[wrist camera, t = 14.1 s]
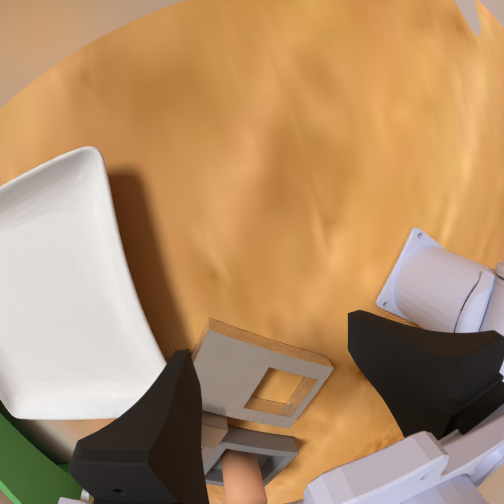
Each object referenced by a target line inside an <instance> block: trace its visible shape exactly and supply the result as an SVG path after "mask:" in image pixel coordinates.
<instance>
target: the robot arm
mask: <svg viewBox="0 0 504 504" xmlns="http://www.w3.org/2000/svg"><path fill="white" fill-rule="evenodd" d="M418 234H420V235H419V237H418ZM385 302H386V303H385ZM384 303H385V305H383V304H384ZM376 305H377V306H378V307H379V308H381V309H384V310H386V311H388V312H390V313H393V314H395V315H397V316H400V317H402V318H404V319H406V320H409V321H411V322H413V323H415V324H418V325H419V326H420V327H422V328H423V329H420V328H416V327H412V326H408V325H405V324H401V323H398V322H395V321H392V320H389V319H386V318H383V317H380V316H377V315H375V314H372V313H369V312H366V311H362V310H357V311H354V312H351V313H348V351H349V352H350V354H351V356H352V358H353V360H354V361H355V363H356V365H357V366H358V368H359V369H360V370H361V371H362V373H363V374H364V375H365V377H366V378H367V379H368V380H369V382H370V383H371V384H372V385H373V387H374V388H375V389H376V390H377V392H378V393H379V394H380V395H381V397H382V398H383V400H384V401H385V403H386V404H387V406H388V408H389V409H390V411H391V413H392V414H393V416H394V418H395V420H396V422H397V424H398V426H399V427H400V429H401V431H402V433H403V436H404V439H402V440H400V441H397V442H395V443H393V444H391V445H389V446H387V447H385V448H382V449H380V450H378V451H376V452H373V453H371V454H369V455H366V456H364V457H361V458H359V459H356V460H353V461H351V462H348V463H345V464H343V465H340V466H337V467H335V468H333V469H331V470H329V471H326V472H324V473H322V474H320V475H319V476H318V477H316V478H315V479H314V480H312V481H311V482H310V483H309V484H308V486H307V487H306V489H305V491H304V493H303V494H304V499H302V500H298V501H294V502H290V503H286V504H489V503H488V502H487V501H486V500H485V498H484V497H483V496H482V495H481V493H480V492H479V491H478V489H477V487H478V486H479V485H480V484H482V483H483V482H484V481H485V480H486V479H487V478H488V477H490V476H491V475H492V474H493V473H494V472H495V471H496V470H497V469H498V468H499V467H500V466H501V465H502V464H503V463H504V260H502V261H501V262H498V263H497V264H496V268H495V270H494V269H492V268H489V267H487V266H485V265H482V264H480V263H477V262H475V261H472V260H470V259H467V258H465V257H462V256H460V255H457V254H455V253H452V252H449V251H447V250H446V249H445V248H444V247H442V246H441V245H440V244H439V243H437V242H436V241H435V240H433V239H432V238H431V237H430V236H428V235H427V234H426V233H424V232H423V231H422V230H420V229H419V228H417V227H414V228H412V230H411V232H410V234H409V236H408V239H407V241H406V243H405V245H404V247H403V249H402V251H401V253H400V256H399V258H398V260H397V262H396V264H395V266H394V268H393V270H392V272H391V273H390V275H389V277H388V279H387V281H386V283H385V285H384V287H383V289H382V291H381V292H380V294H379V296H378V298H377V300H376ZM201 433H202V394H201V385H200V382H199V379H198V376H197V373H196V370H195V367H194V364H193V361H192V358H191V355H190V351H189V349H186V350H180V351H175V352H174V354H173V355H172V357H171V358H170V360H169V361H168V363H167V364H166V366H165V367H164V369H163V370H162V372H161V373H160V375H159V376H158V377H157V379H156V380H155V382H154V383H153V384H152V385H151V387H150V388H149V389H148V390H147V392H146V393H145V394H144V395H143V396H142V397H141V398H140V399H139V400H138V401H137V402H136V403H135V404H134V405H133V406H132V407H131V408H130V409H128V410H127V411H126V412H125V413H123V414H122V415H121V416H120V417H118V418H117V419H116V420H114V421H113V422H111V423H110V424H108V425H107V426H105V427H104V428H102V429H100V430H99V431H97V432H95V433H93V434H91V435H89V436H87V437H85V438H83V439H80V440H78V442H77V444H76V447H75V450H74V453H73V456H72V459H71V462H70V465H69V471H70V474H71V476H72V477H73V478H74V479H75V481H76V482H77V483H78V484H79V485H80V486H81V487H82V488H83V489H85V490H86V491H87V492H88V493H89V494H90V495H91V496H92V497H93V498H94V501H93V504H209V499H208V493H207V488H206V481H205V475H204V467H203V459H202V449H201ZM58 504H89V503H87V502H84V501H79V500H74V499H69V498H64V497H60V499H59V502H58Z"/></svg>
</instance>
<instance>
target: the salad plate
mask: <svg viewBox="0 0 504 504" xmlns="http://www.w3.org/2000/svg"><path fill="white" fill-rule="evenodd" d="M166 364H167V363H166V361H165V359H164V357H163V355H162V353H161V351H160V349H159V346H158V344H157V342H156V340H155V338H154V335H153V333H152V331H151V328H150V326H149V324H148V321H147V319H146V316H145V314H144V311H143V309H142V306H141V303H140V301H139V298H138V295H137V292H136V289H135V286H134V283H133V280H132V277H131V274H130V270H129V267H128V264H127V260H126V257H125V253H124V249H123V245H122V241H121V237H120V233H119V228H118V223H117V219H116V214H115V209H114V204H113V199H112V194H111V189H110V184H109V179H108V174H107V169H106V165H105V161H104V158H103V156H102V154H101V152H100V151H99V150H98V149H97V148H95V147H93V146H87V147H82V148H79V149H76V150H73V151H70V152H67V153H65V154H63V155H60V156H58V157H56V158H54V159H52V160H50V161H48V162H45V163H43V164H41V165H39V166H38V167H36V168H34V169H32V170H30V171H28V172H26V173H24V174H22V175H20V176H18V177H17V178H15V179H13V180H11V181H9V182H7V183H6V184H4V185H2V186H0V399H1V401H2V402H3V404H4V405H5V407H6V408H7V410H8V411H9V412H10V414H11V415H12V416H14V417H15V418H19V419H32V420H86V419H110V418H118V417H120V416H121V415H122V414H123V413H125V412H126V411H127V410H128V409H130V408H131V407H132V406H133V405H134V404H135V403H136V402H137V401H138V400H139V399H140V398H141V397H142V396H143V395H144V394H145V393H146V392H147V390H148V389H149V388H150V387H151V385H152V384H153V383H154V382H155V380H156V379H157V377H158V376H159V375H160V373H161V372H162V370H163V369H164V367H165V366H166Z"/></svg>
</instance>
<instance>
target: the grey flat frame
mask: <svg viewBox="0 0 504 504" xmlns="http://www.w3.org/2000/svg"><path fill="white" fill-rule="evenodd" d="M191 358H192V361H193V364H194V367H195V370H196V373H197V376H198V379H199V382H200V385H201V394H202V410H204V411H208V412H212V413H216V414H220V415H224V416H228V417H232V418H237V419H241V420H246V421H251V422H256V423H261V424H267V425H273V426H279V427H285V428H290V427H291V426H292V424H293V423H294V422H295V421H296V419H297V418H298V417H299V416H300V414H301V413H302V412H303V411H304V409H305V408H306V407H307V405H308V404H309V403H310V401H311V400H312V399H313V397H314V396H315V395H316V393H317V392H318V390H319V389H320V388H321V386H322V385H323V383H324V382H325V381H326V379H327V378H328V376H329V375H330V373H331V372H332V371H333V369H334V368H333V366H332V365H331V363H330V362H329V360H328V359H327V357H326V356H323V355H319V354H316V353H313V352H309V351H306V350H303V349H299V348H296V347H293V346H290V345H287V344H283V343H280V342H277V341H274V340H271V339H268V338H265V337H262V336H259V335H256V334H253V333H250V332H247V331H244V330H242V329H239V328H236V327H233V326H230V325H227V324H225V323H222V322H219V321H217V320H214V319H211V318H208V321H207V323H206V325H205V327H204V329H203V331H202V333H201V335H200V338H199V340H198V342H197V344H196V346H195V348H194V350H193V353H192V355H191ZM269 367H271V368H274V369H278V370H282V371H286V372H289V373H293V374H297V375H301V376H305V377H304V379H303V380H302V382H301V383H300V385H299V386H298V388H297V389H296V390H295V392H294V393H293V395H292V396H291V398H290V399H289V400H288V402H287V403H286V404H282V403H278V402H273V401H268V400H264V399H260V398H255V397H251V395H252V393H253V392H254V390H255V389H256V387H257V386H258V384H259V383H260V381H261V379H262V378H263V376H264V375H265V373H266V371H267V370H268V368H269Z"/></svg>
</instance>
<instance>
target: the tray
mask: <svg viewBox="0 0 504 504" xmlns="http://www.w3.org/2000/svg"><path fill="white" fill-rule="evenodd" d="M227 426H228V425H227ZM225 449H232V450H238V451H244V452H250V453H256V454H257V459H258V463H259V468H260V472H261V476H262V481H263V485H264V487H265V486H266V485H267V484H268V483H269V482H270V481H271V480H272V479H273V478H274V477H275V476H276V475H277V474H278V473H280V472H281V471H282V470H283V469H284V468H285V467H286V465H287V464H288V463H289V462H290V461H291V460H292V459H293V458H294V457H295V456H296V455H297V454H298V453H299V451H298V448H297V446H296V443H295V440H294V437H291V436H283V435H276V434H270V433H264V432H258V431H252V430H247V429H242V428H237V427H232V426H228V432H227V433H226V435H225V436H224V438H223V439H222V440H221V442H220V443H219V445H218V446H217V447H216V449H214V448H209V447H204V446H203V448H202V459H203V467H204V475H205V481H206V484H212V485H218V486H224V482H223V473H222V464H221V455H222V453H223V452H224V451H225Z"/></svg>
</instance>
